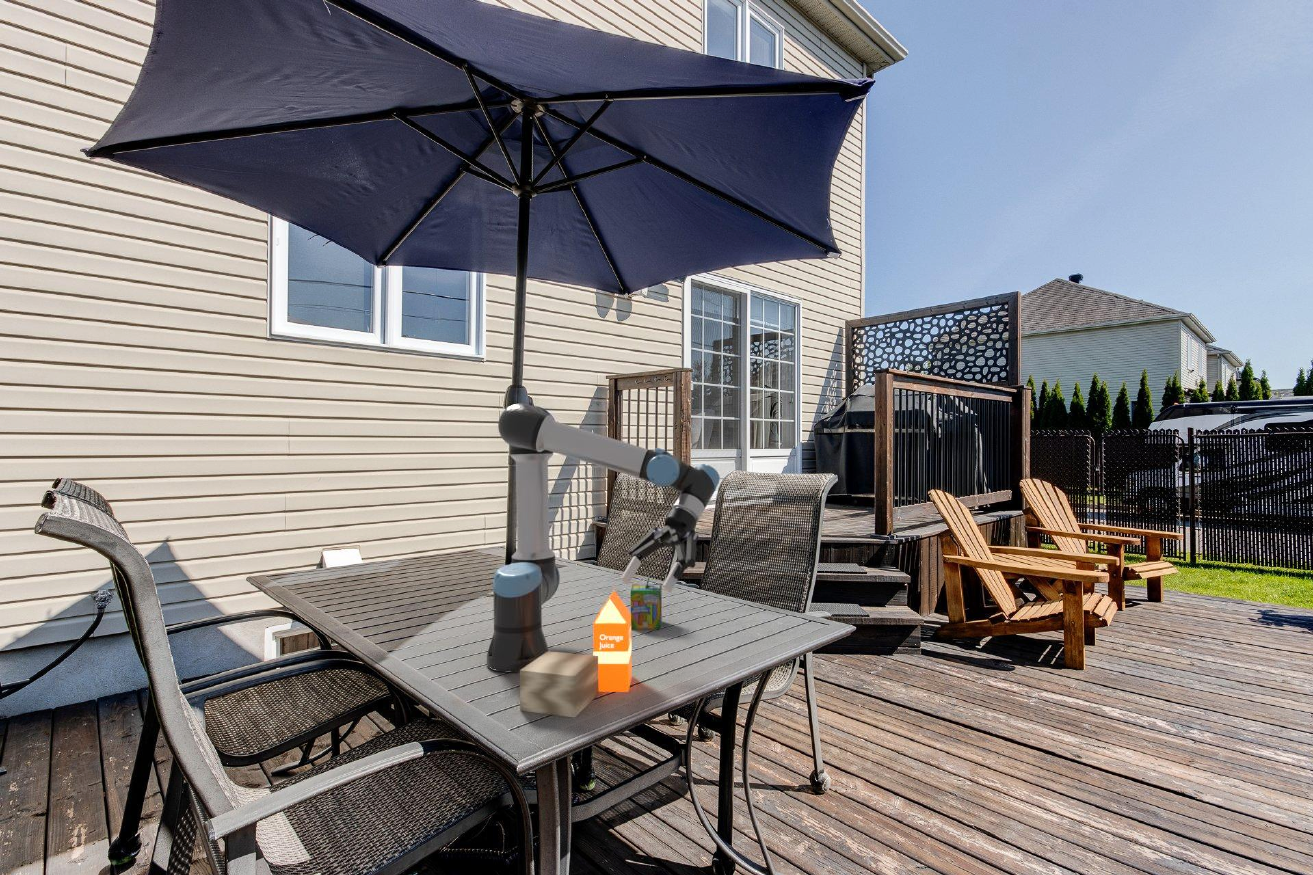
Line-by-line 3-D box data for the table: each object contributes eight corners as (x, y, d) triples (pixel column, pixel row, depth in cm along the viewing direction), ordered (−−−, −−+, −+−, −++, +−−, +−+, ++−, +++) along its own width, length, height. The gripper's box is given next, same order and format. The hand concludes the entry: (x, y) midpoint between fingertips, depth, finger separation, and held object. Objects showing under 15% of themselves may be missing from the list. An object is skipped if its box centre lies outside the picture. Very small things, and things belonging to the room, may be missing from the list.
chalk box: (632, 621, 183) (631, 572, 183) (662, 621, 183) (661, 572, 183) (629, 630, 174) (629, 578, 174) (661, 630, 173) (660, 578, 174)
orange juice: (632, 676, 137) (631, 589, 138) (629, 691, 129) (627, 598, 129) (598, 676, 138) (597, 589, 138) (593, 691, 129) (591, 598, 129)
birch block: (520, 710, 120) (519, 670, 120) (548, 687, 131) (547, 651, 131) (574, 717, 116) (574, 675, 116) (598, 693, 128) (598, 655, 128)
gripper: (730, 528, 147) (693, 602, 135) (655, 522, 163) (616, 586, 152) (717, 508, 143) (677, 582, 131) (641, 504, 160) (600, 569, 148)
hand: (644, 584), depth 142 cm, fingers open, 13 cm apart
